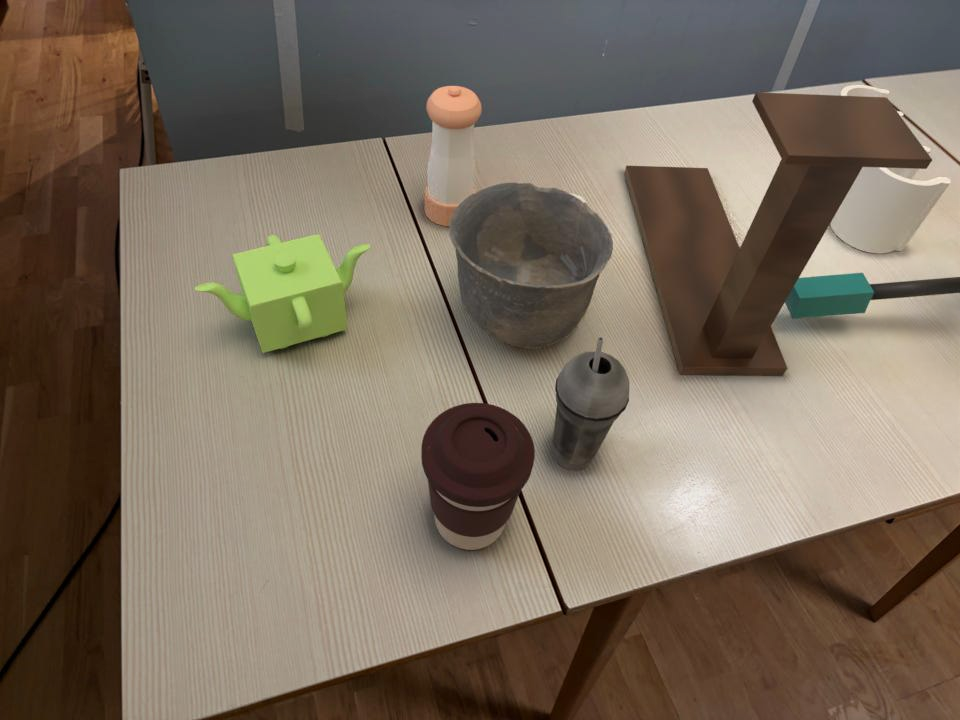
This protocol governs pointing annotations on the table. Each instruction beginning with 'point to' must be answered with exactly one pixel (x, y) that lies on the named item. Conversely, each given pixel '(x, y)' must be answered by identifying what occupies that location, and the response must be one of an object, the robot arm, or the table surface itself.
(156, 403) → the table surface
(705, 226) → the headphone stand
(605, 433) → the beverage cup
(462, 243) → the bowl
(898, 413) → the table surface
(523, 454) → the coffee cup
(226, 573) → the table surface
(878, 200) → the white rounded piece
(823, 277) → the teal block with handle
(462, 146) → the pepper shaker
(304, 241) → the teapot
